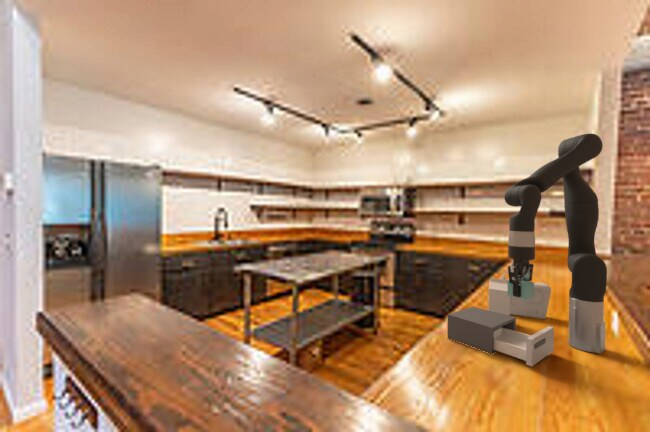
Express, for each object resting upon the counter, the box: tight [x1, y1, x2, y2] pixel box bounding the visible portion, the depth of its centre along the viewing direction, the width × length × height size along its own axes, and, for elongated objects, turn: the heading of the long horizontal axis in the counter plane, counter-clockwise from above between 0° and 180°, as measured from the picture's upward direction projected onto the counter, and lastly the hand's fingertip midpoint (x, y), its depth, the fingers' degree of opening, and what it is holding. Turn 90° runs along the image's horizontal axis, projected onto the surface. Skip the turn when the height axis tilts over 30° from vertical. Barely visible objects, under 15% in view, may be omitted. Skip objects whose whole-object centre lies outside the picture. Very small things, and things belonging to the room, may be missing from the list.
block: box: [507, 279, 535, 300], centre depth 99 cm, size 6×5×5 cm
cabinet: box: [447, 306, 517, 355], centre depth 110 cm, size 16×18×9 cm
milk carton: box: [487, 277, 510, 316], centre depth 128 cm, size 7×7×19 cm
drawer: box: [494, 325, 555, 367], centre depth 100 cm, size 16×18×8 cm
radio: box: [498, 261, 552, 320], centre depth 139 cm, size 22×8×25 cm, turn 62°
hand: (520, 295), depth 99 cm, fingers closed on block, 5 cm apart
